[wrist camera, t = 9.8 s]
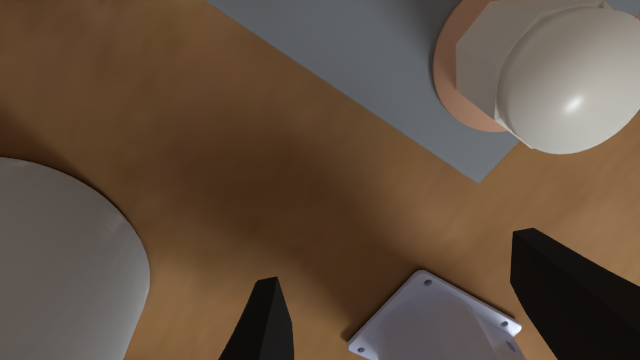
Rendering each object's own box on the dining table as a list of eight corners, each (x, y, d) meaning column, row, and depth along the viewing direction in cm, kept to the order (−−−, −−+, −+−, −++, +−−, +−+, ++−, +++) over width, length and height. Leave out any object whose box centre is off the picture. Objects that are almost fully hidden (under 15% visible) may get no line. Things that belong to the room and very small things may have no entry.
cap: (574, -15, 17) (673, -7, 13) (562, 100, 19) (642, 141, 15) (454, 8, 17) (511, 24, 13) (456, 120, 20) (505, 166, 15)
